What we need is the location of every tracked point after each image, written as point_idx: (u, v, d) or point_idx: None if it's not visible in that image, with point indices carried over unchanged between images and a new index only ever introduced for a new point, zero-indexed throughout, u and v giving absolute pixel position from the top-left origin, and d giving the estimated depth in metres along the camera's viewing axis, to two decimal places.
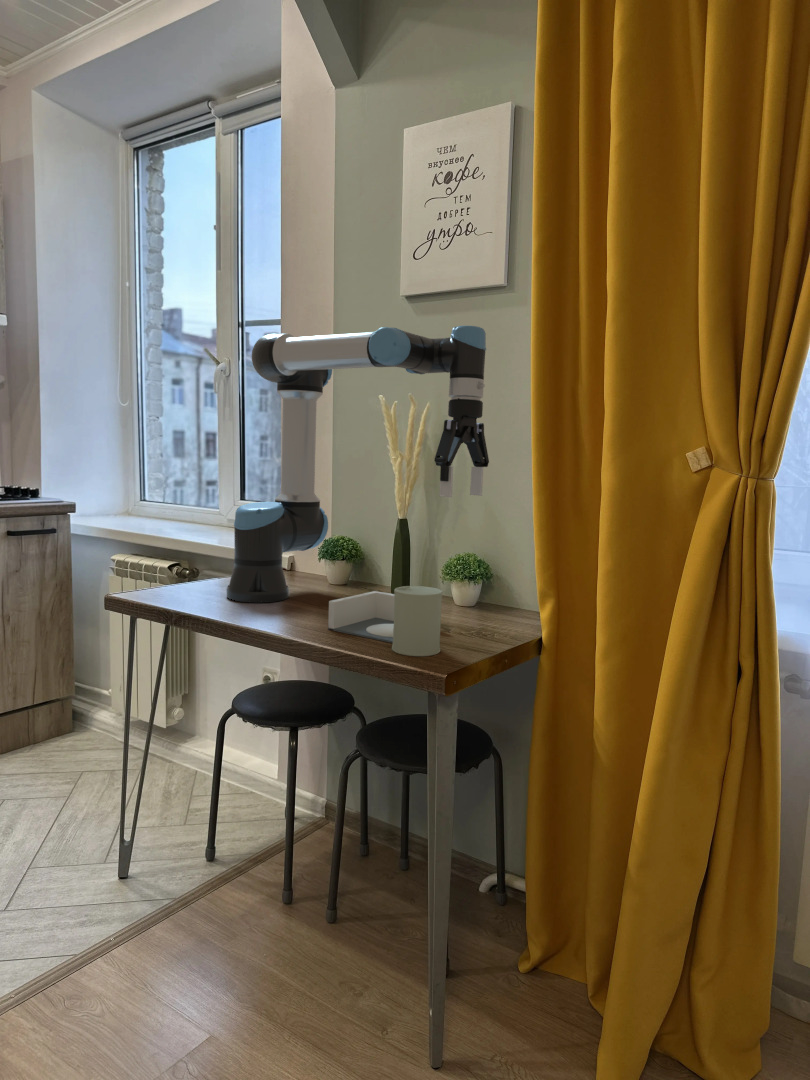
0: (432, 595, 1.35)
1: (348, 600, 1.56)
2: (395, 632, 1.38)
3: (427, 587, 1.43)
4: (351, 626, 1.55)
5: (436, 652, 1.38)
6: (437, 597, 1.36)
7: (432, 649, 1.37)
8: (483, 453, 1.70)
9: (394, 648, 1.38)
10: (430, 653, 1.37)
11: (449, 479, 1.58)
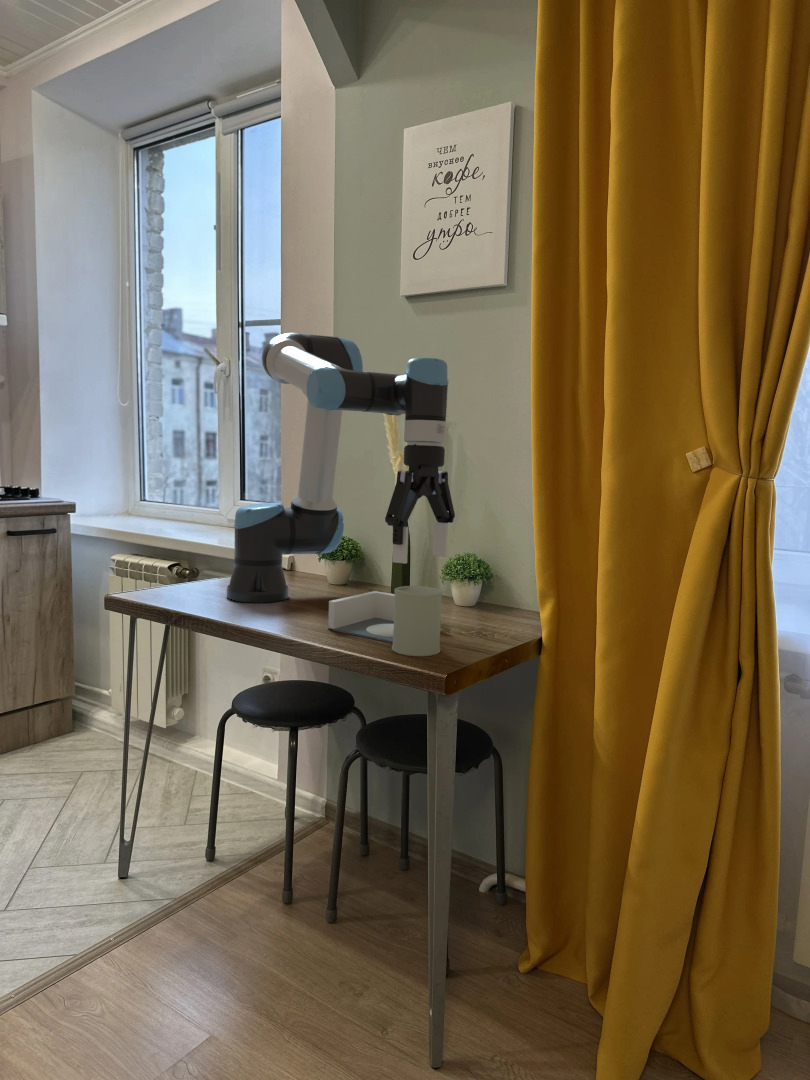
0: (432, 595, 1.35)
1: (348, 600, 1.56)
2: (395, 632, 1.38)
3: (427, 587, 1.43)
4: (351, 626, 1.55)
5: (436, 652, 1.38)
6: (437, 597, 1.36)
7: (432, 649, 1.37)
8: (447, 506, 1.43)
9: (394, 648, 1.38)
10: (430, 653, 1.37)
11: (403, 542, 1.31)
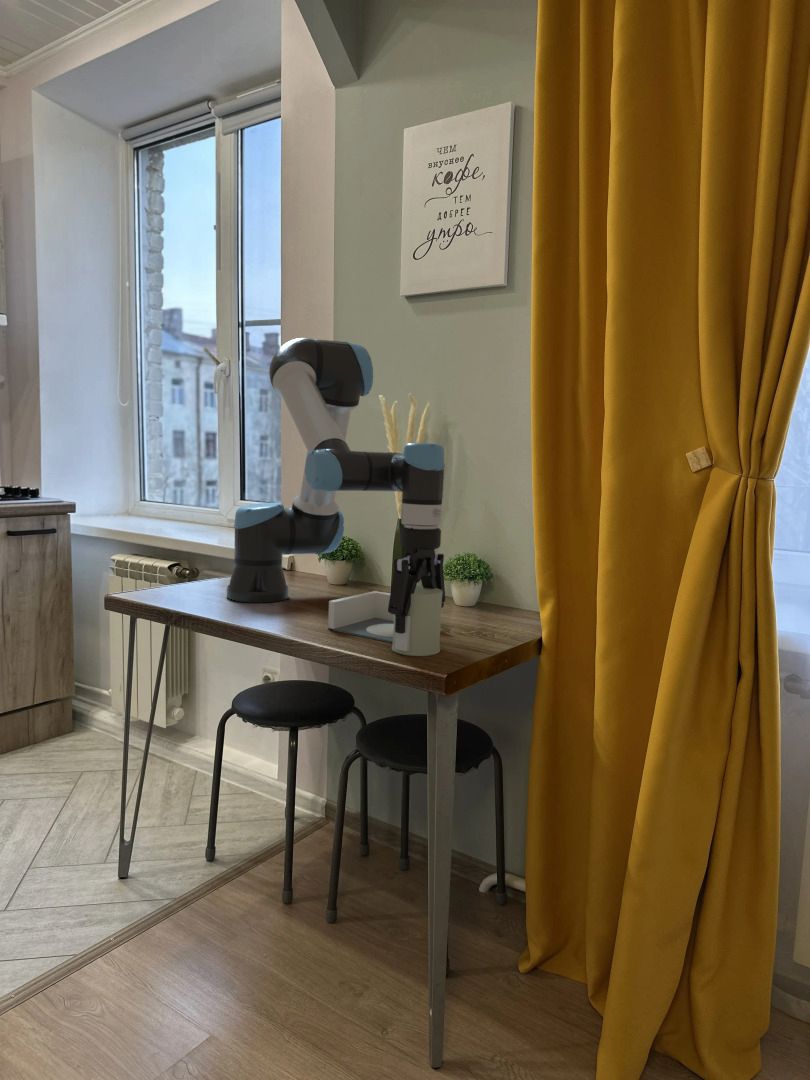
0: (432, 595, 1.35)
1: (348, 600, 1.56)
2: None
3: None
4: (351, 626, 1.55)
5: (436, 652, 1.38)
6: (437, 597, 1.36)
7: (432, 649, 1.37)
8: None
9: (394, 648, 1.38)
10: (430, 653, 1.37)
11: (406, 630, 1.35)
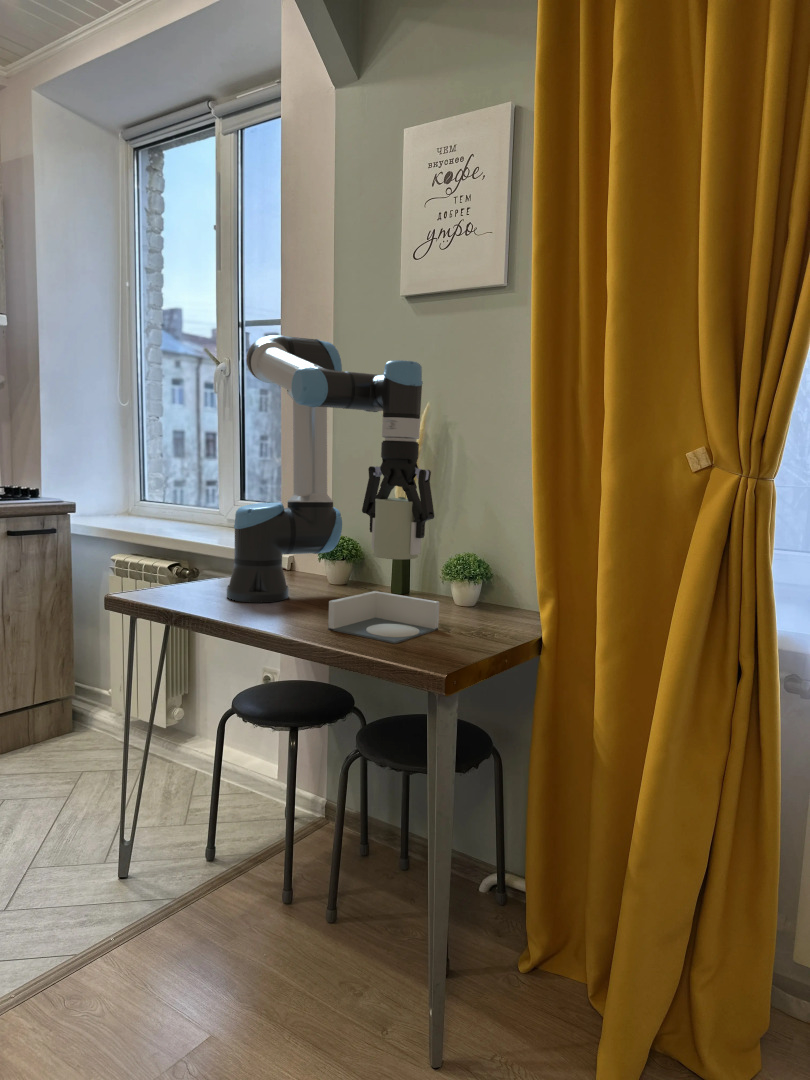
0: (378, 500, 1.47)
1: (348, 600, 1.56)
2: None
3: None
4: (351, 626, 1.55)
5: (382, 556, 1.47)
6: (383, 504, 1.46)
7: (379, 552, 1.48)
8: None
9: None
10: (376, 555, 1.49)
11: None
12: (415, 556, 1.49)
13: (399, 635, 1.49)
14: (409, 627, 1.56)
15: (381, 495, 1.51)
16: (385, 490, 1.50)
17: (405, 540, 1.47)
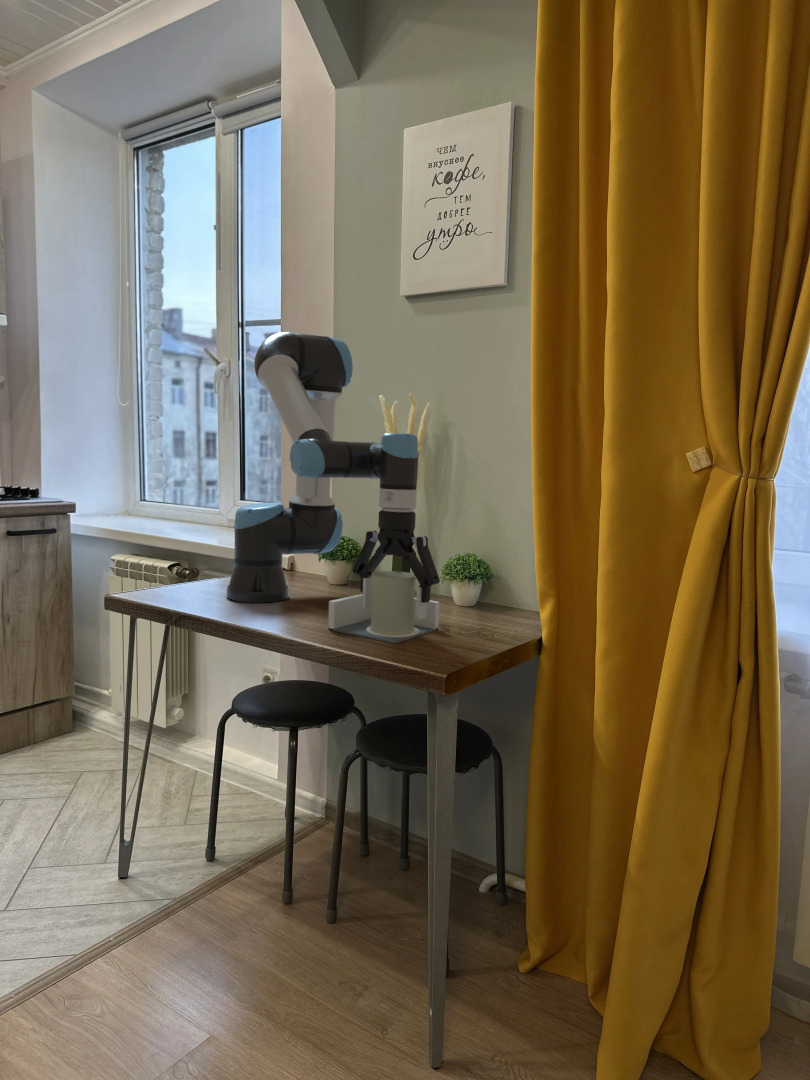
0: (375, 577, 1.49)
1: (348, 600, 1.56)
2: None
3: (411, 577, 1.50)
4: (351, 626, 1.55)
5: (379, 631, 1.49)
6: (379, 580, 1.48)
7: (375, 627, 1.50)
8: None
9: None
10: (373, 629, 1.51)
11: None
12: (412, 630, 1.51)
13: (399, 635, 1.49)
14: None
15: (374, 560, 1.53)
16: (379, 556, 1.52)
17: (402, 616, 1.49)
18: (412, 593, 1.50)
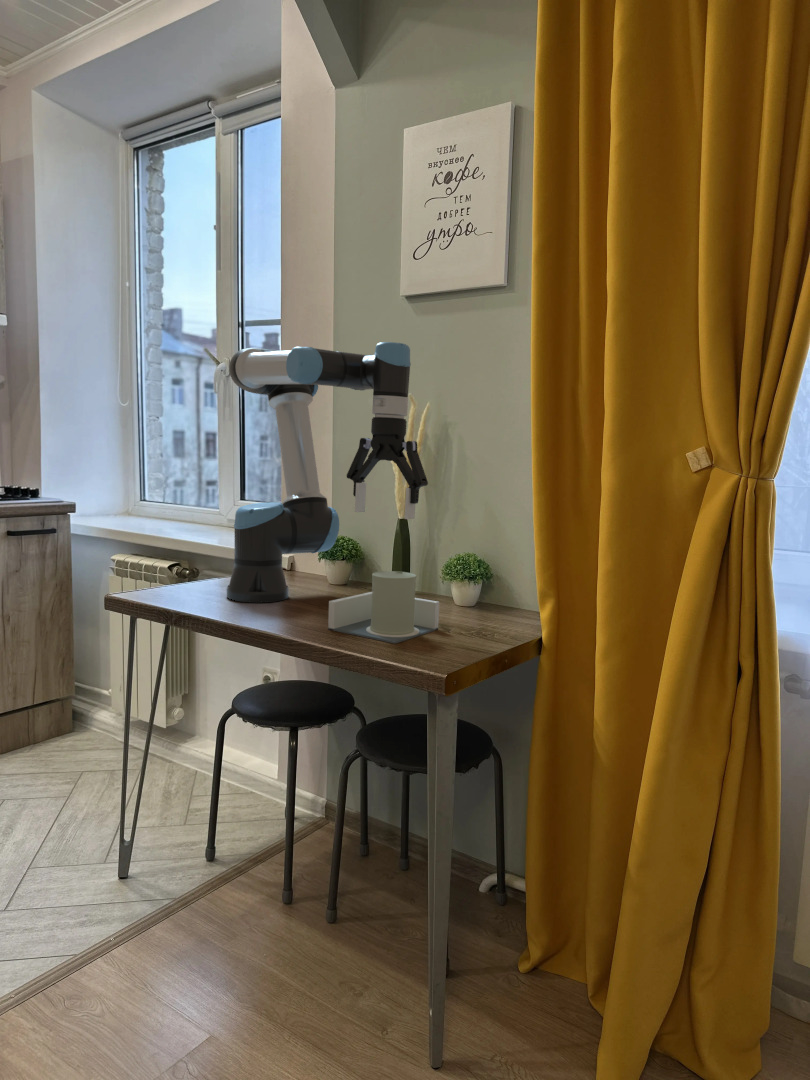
0: (375, 576, 1.49)
1: (348, 600, 1.56)
2: None
3: (411, 576, 1.50)
4: (351, 626, 1.55)
5: (379, 631, 1.49)
6: (380, 580, 1.49)
7: (376, 627, 1.50)
8: None
9: None
10: (373, 629, 1.50)
11: None
12: (412, 630, 1.51)
13: (399, 635, 1.49)
14: None
15: (367, 465, 1.62)
16: (371, 461, 1.61)
17: (402, 615, 1.49)
18: (413, 593, 1.50)
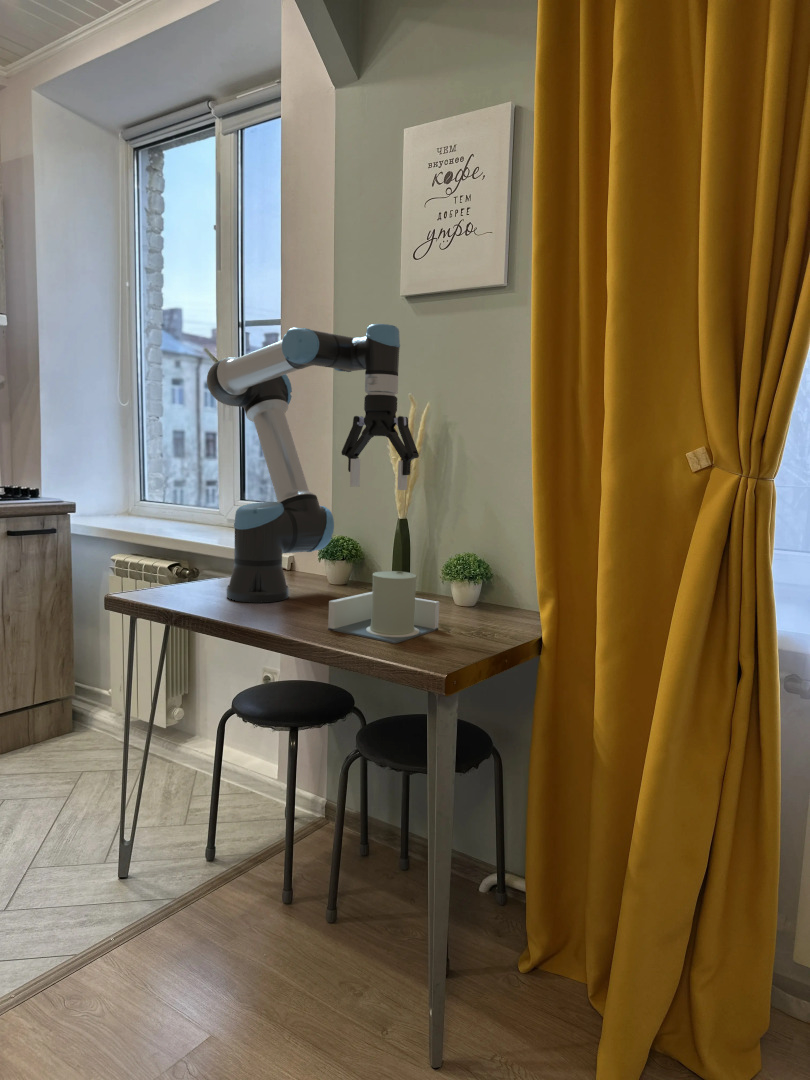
0: (376, 576, 1.49)
1: (348, 600, 1.56)
2: None
3: (412, 577, 1.50)
4: (351, 626, 1.55)
5: (379, 631, 1.49)
6: (380, 580, 1.48)
7: (376, 627, 1.50)
8: None
9: None
10: (373, 629, 1.50)
11: None
12: (412, 630, 1.51)
13: (399, 635, 1.49)
14: None
15: (361, 441, 1.71)
16: (365, 438, 1.71)
17: (402, 616, 1.49)
18: (413, 594, 1.50)
